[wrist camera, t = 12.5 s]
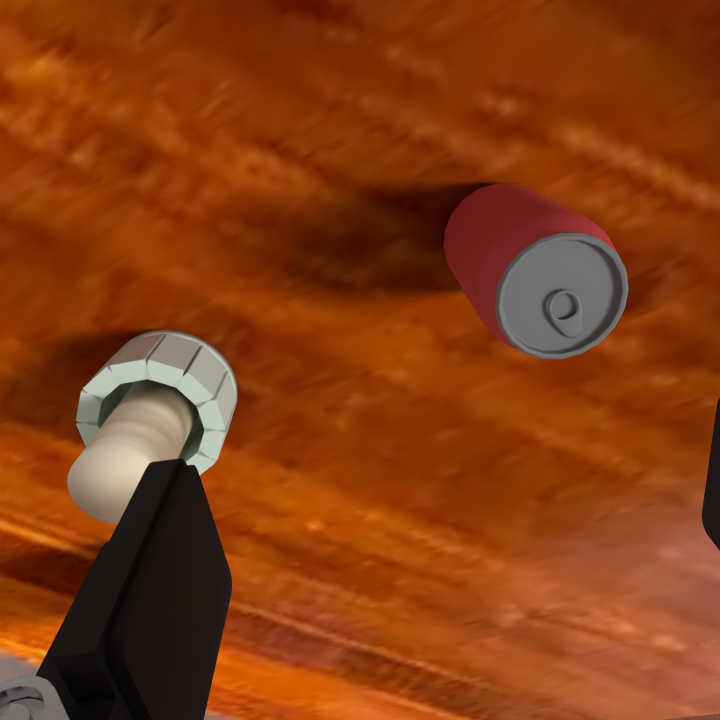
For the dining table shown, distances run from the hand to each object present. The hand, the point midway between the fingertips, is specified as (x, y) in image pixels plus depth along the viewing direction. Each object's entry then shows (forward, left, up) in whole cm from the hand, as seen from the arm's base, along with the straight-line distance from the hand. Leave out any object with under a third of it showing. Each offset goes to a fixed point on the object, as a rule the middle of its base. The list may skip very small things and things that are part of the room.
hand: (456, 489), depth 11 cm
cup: (+8, -15, -27) cm, 32 cm away
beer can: (+2, +7, -27) cm, 28 cm away
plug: (+8, -15, -26) cm, 31 cm away
